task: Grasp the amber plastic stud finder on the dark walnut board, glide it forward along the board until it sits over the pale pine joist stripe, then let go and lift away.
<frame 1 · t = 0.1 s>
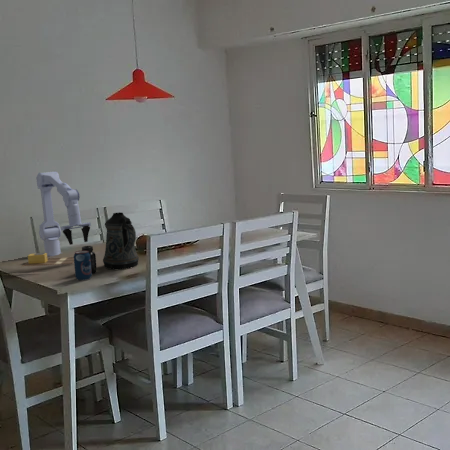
hand: (78, 243, 290), 11 cm above the table, tool pointing down, fingers open, 7 cm apart
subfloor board: (50, 263, 299), on the table
stud finder: (38, 262, 298), point 1 cm above the table, touching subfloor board
beer stein: (124, 266, 285), on the table
soda can: (83, 279, 264), on the table
supplement bottle: (89, 273, 275), on the table
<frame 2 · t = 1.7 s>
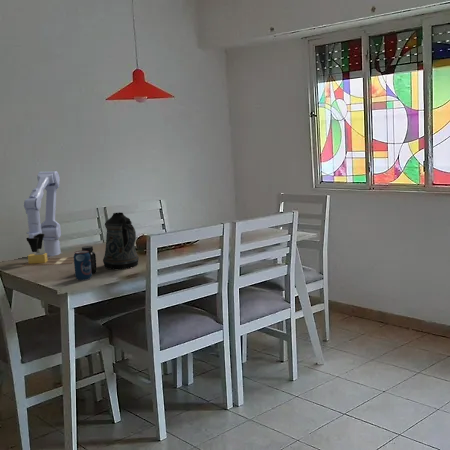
hand: (36, 250, 297), 7 cm above the table, tool pointing down, fingers open, 7 cm apart
nothing on the table moved.
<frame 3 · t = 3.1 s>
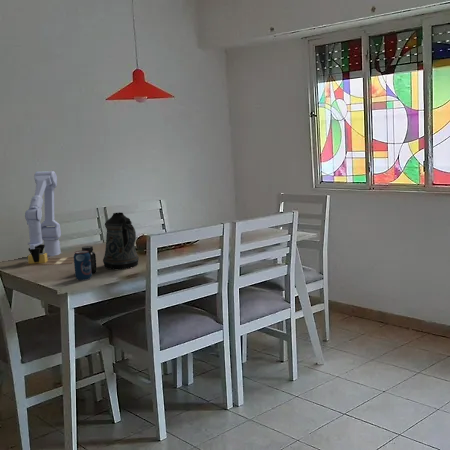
hand: (38, 260, 298), 2 cm above the table, tool pointing down, fingers closed on stud finder, 4 cm apart
stud finder: (38, 262, 298), point 1 cm above the table, touching gripper, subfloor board
everything else where it was.
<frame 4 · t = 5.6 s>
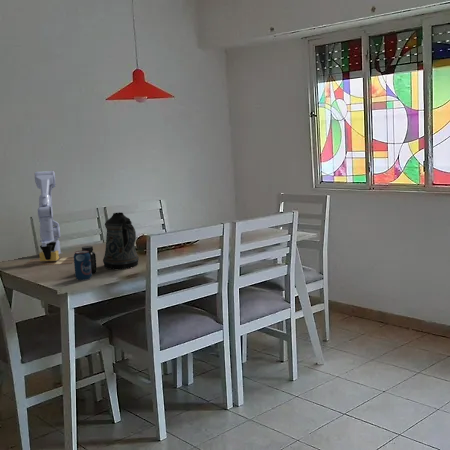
hand: (49, 258, 298), 3 cm above the table, tool pointing down, fingers closed on stud finder, 4 cm apart
stud finder: (49, 259, 298), point 2 cm above the table, touching gripper
everything else where it was.
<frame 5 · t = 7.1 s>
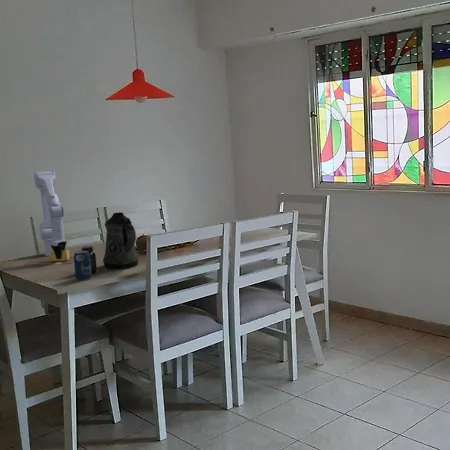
hand: (60, 257, 298), 3 cm above the table, tool pointing down, fingers closed on stud finder, 4 cm apart
stud finder: (60, 259, 298), point 2 cm above the table, touching gripper
everything else where it was.
when the fingers open (3 cm above the table, at t = 8.2 s): stud finder stays where it is, resting on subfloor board.
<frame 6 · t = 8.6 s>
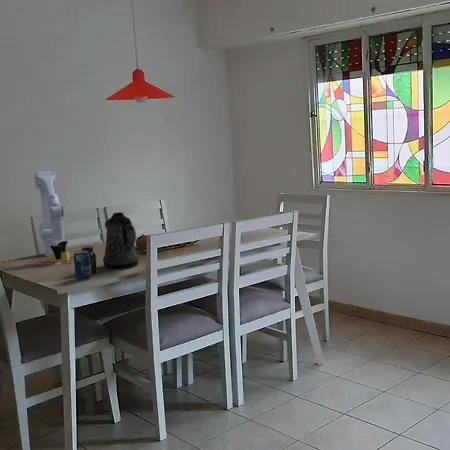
hand: (60, 257, 298), 3 cm above the table, tool pointing down, fingers open, 7 cm apart
stud finder: (60, 261, 298), point 1 cm above the table, touching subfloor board
everything else where it was.
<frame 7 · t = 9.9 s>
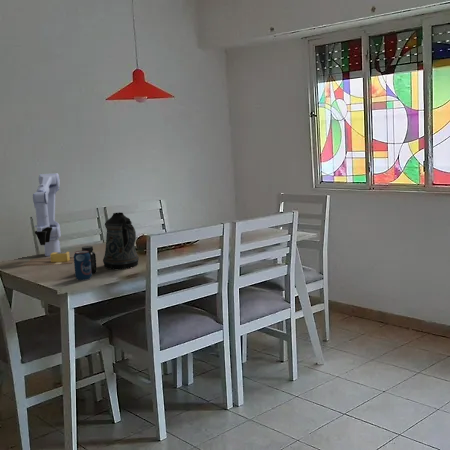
hand: (45, 243, 301), 9 cm above the table, tool pointing down, fingers open, 7 cm apart
nothing on the table moved.
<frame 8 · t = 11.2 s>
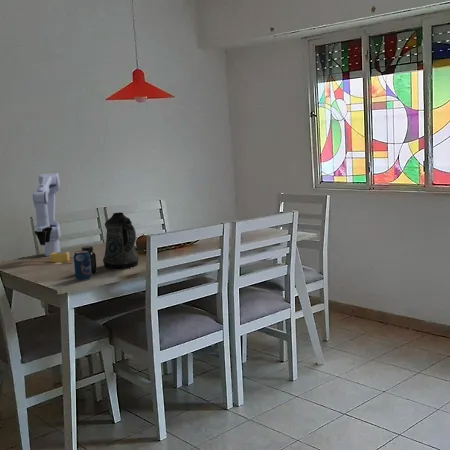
hand: (45, 243, 301), 9 cm above the table, tool pointing down, fingers open, 7 cm apart
nothing on the table moved.
at the end: stud finder inside the target area on the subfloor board (0.5 cm from its centre), point 1.1 cm above the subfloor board's base; stud finder tilted 0°; the gripper is holding nothing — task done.
